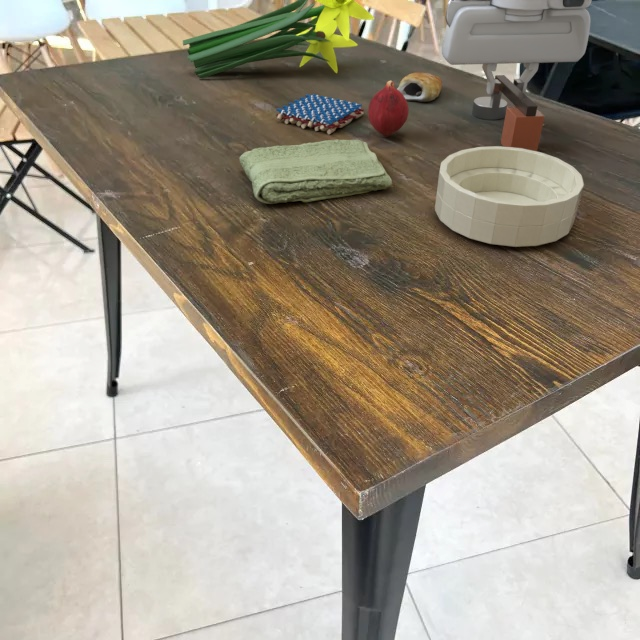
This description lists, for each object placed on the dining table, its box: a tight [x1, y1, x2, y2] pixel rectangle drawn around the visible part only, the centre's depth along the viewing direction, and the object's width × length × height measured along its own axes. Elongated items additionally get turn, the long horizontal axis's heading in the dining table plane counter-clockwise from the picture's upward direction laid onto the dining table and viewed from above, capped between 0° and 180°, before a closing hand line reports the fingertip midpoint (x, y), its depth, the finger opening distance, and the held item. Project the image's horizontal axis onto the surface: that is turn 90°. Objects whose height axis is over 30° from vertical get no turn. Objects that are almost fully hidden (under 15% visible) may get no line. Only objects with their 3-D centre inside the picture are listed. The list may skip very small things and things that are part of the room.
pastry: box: [396, 71, 443, 103], centre depth 110 cm, size 9×7×4 cm
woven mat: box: [275, 93, 365, 135], centre depth 101 cm, size 10×11×2 cm
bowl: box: [434, 145, 585, 248], centre depth 74 cm, size 16×16×6 cm
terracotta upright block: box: [500, 106, 545, 152], centre depth 91 cm, size 4×4×5 cm
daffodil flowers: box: [182, 0, 375, 79], centre depth 117 cm, size 17×15×35 cm
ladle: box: [471, 74, 538, 121], centre depth 96 cm, size 19×5×7 cm, turn 6°
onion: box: [367, 80, 410, 138], centre depth 93 cm, size 6×6×8 cm
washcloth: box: [238, 138, 393, 205], centre depth 83 cm, size 13×18×3 cm
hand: (505, 93), depth 96 cm, fingers open, 3 cm apart
